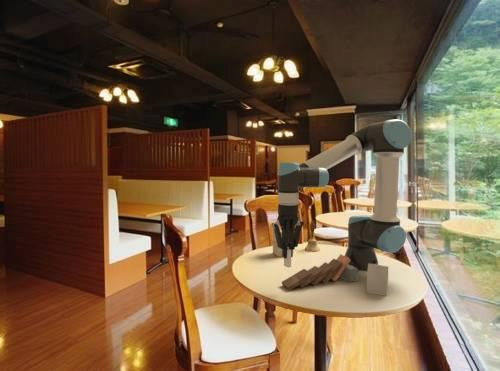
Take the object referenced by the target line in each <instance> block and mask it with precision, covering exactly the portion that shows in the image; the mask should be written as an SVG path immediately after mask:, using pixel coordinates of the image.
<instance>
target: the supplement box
mask: <svg viewBox="0 0 500 371" xmlns="http://www.w3.org/2000/svg"><path fill="white" fill-rule="evenodd" d="M279 229H280V232H281V237H282V230H281V228H279ZM272 254H273V255H275V256H276V257H277V258H283V257H282V249H281V248H279V247H278V246H277V241H276V237H275V232H274V228H272Z"/></svg>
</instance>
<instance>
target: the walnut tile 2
mask: <svg viewBox="0 0 500 371" xmlns="http://www.w3.org/2000/svg"><path fill="white" fill-rule="evenodd" d="M307 271H309V272H311V273H312V276H313V277H311V278H310V279H308V280H306V281H305V282H303V283H301V284H300V285H298V286H297V287H299V288H302V289H303V288H304V287H306V286H307V285H309V284H311V283H310V282H312V281H313V280H315V279H316V278H318V277H320V276H321V275H323V274H324V272H323V270H322V269H320V268H319V267H318V266H316V265H314V266H312V267H311V268H309V269H307Z"/></svg>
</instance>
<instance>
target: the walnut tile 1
mask: <svg viewBox="0 0 500 371" xmlns="http://www.w3.org/2000/svg"><path fill="white" fill-rule="evenodd" d="M311 277H313V276H312V273H311V272H309V271H308V269H305V268H303V269H301V270H299V271H298V272H296V273H295V274H293V275H291V276H289V277H288V278H286V279H284V280H282V281H281V286H283V287H284V288H285V289H286V290H288V291H292V290H293V289H295V288H297V287H299V286H298V285H300V284H301V283H303V282H305V281H306V280H308V279H310V278H311Z"/></svg>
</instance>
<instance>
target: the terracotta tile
mask: <svg viewBox="0 0 500 371" xmlns="http://www.w3.org/2000/svg"><path fill="white" fill-rule="evenodd" d="M335 259H336V260H338V261H340V262H342V263H343V266H342V267H341V268H340V269H339V270H338V271H337V272H336V273H335V274H334V275H333V276H332V277H331V278H330V279H329V280H331V281H333V282H336V281H337V280H338V278H340V277H339V276H340V274H341V273H342V272H343V270H344V269H345V268H346V266H347V265H348V263H349V262H350V261H351V260H350V258H348V257H346V256H345V255H343V254H341V253H340V254H339V255H338V257H337V258H335Z"/></svg>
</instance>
